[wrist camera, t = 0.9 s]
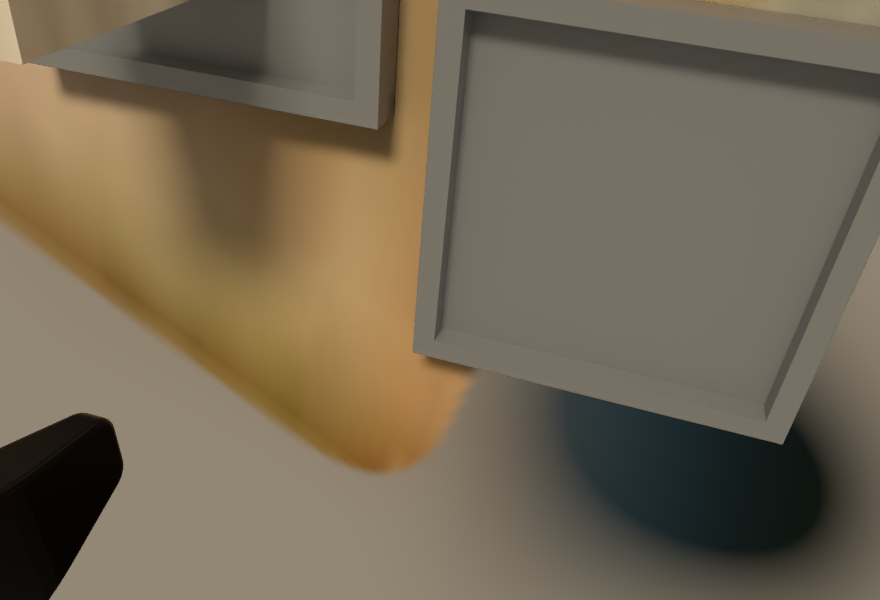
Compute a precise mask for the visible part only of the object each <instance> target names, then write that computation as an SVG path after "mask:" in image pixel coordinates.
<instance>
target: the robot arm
mask: <svg viewBox="0 0 880 600" xmlns="http://www.w3.org/2000/svg"><path fill="white" fill-rule="evenodd" d="M122 471H123V459H122V456H121V452H120V448H119V444H118V441H117V437H116V433H115V430H114V427H113V424H112V423H111V422H110V421H109V420H108V419H106V418H103V417H99V416H95V415H92V414H88V413H78V414H74V415H72V416H69V417H68V418H65V419H63V420H61V421H58V422H56V423H54V424H52V425H50V426H47V427H45V428H43V429H41V430H39V431H36V432H35V433H32V434H30V435H28V436H25V437H23V438H21V439H19V440H17V441H15V442H12V443H10V444H8V445H6V446H3V447H1V448H0V600H49V599H50V597H51V596H52V594H53V593H54V592H55V590H56V589H57V587H58V586H59V584H60V583H61V581H62V579H63V578H64V576H65V574H66V573H67V571H68V570H69V568H70V566H71V565H72V563H73V561H74V559H75V558H76V556H77V554H78V552H79V551H80V549H81V547H82V545H83V544H84V542H85V540H86V539H87V536H88V535H89V533H90V531H91V530H92V528H93V526H94V524H95V523H96V521H97V519H98V518H99V516H100V514H101V512H102V511H103V509H104V507H105V506H106V503H107V502H108V500H109V499H110V497H111V495H112V493H113V492H114V490H115V488H116V486H117V485H118V483H119V481H120V478H121V476H122Z"/></svg>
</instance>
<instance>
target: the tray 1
mask: <svg viewBox="0 0 880 600" xmlns="http://www.w3.org/2000/svg"><path fill="white" fill-rule="evenodd" d="M398 17H399V0H190V1H187V2H185V3H182V4H180V5H177V6H174V7H172V8H169V9H167V10H164V11H161V12H159V13H156V14H153V15H151V16H148V17H146V18H143V19H140V20H138V21H135V22H133V23H130V24H127V25H125V26H122V27H120V28H117V29H114V30H112V31H109V32H106V33H104V34H101V35H99V36H96V37H93V38H91V39H88V40H86V41H83V42H80V43H78V44H75V45H73V46H70V47H67V48H65V49H62V50H59V51H57V52H54V53H52V54H49V55H46V56H44V57H41V58H39V59H36V60H33V61H31V62H28V63H33V64H38V65H43V66H48V67H54V68H59V69H64V70H69V71H74V72H80V73H85V74H90V75H95V76H100V77H106V78H111V79H116V80H121V81H126V82H132V83H137V84H142V85H147V86H152V87H158V88H163V89H168V90H173V91H178V92H184V93H189V94H194V95H199V96H205V97H210V98H215V99H220V100H225V101H231V102H236V103H241V104H246V105H251V106H257V107H262V108H267V109H272V110H277V111H283V112H288V113H293V114H298V115H303V116H309V117H314V118H319V119H324V120H329V121H335V122H340V123H345V124H350V125H355V126H361V127H366V128H371V129H376V130H378V129H379V128H380V127H381V126H382V125H383V124H384V123H385V122H386V121H387V120H388V119H389V118H390V117H391V116H392V115H393V114H394V101H395V80H396V59H397V38H398Z"/></svg>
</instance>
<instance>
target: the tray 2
mask: <svg viewBox="0 0 880 600" xmlns="http://www.w3.org/2000/svg"><path fill="white" fill-rule="evenodd" d="M879 235H880V27H873V26H866V25H859V24H852V23H846V22H839V21H832V20H825V19H818V18H811V17H804V16H798V15H791V14H784V13H777V12H770V11H763V10H756V9H749V8H743V7H736V6H729V5H722V4H715V3H708V2H701V1H695V0H439V8H438V22H437V35H436V48H435V61H434V75H433V88H432V101H431V114H430V128H429V141H428V154H427V167H426V181H425V194H424V207H423V220H422V234H421V247H420V260H419V273H418V287H417V300H416V313H415V326H414V340H413V353H417V354H421V355H425V356H429V357H433V358H437V359H441V360H445V361H449V362H453V363H457V364H461V365H465V366H469V367H473V368H477V369H481V370H485V371H489V372H493V373H497V374H501V375H505V376H509V377H514V378H517V379H521V380H525V381H529V382H533V383H537V384H541V385H545V386H550V387H553V388H557V389H561V390H565V391H569V392H574V393H577V394H581V395H586V396H589V397H593V398H598V399H602V400H606V401H610V402H614V403H618V404H622V405H626V406H630V407H634V408H638V409H642V410H646V411H650V412H654V413H658V414H662V415H666V416H670V417H674V418H678V419H682V420H686V421H690V422H694V423H698V424H702V425H706V426H710V427H714V428H718V429H722V430H726V431H730V432H735V433H738V434H742V435H746V436H750V437H754V438H758V439H762V440H766V441H770V442H774V443H778V444H783V442H784V440H785V438H786V436H787V434H788V431H789V429H790V427H791V425H792V423H793V421H794V418H795V416H796V414H797V412H798V410H799V407H800V405H801V403H802V401H803V399H804V397H805V395H806V392H807V390H808V388H809V386H810V384H811V382H812V379H813V377H814V375H815V373H816V371H817V369H818V367H819V364H820V362H821V360H822V358H823V356H824V354H825V351H826V349H827V347H828V345H829V343H830V341H831V338H832V336H833V334H834V332H835V330H836V327H837V325H838V323H839V321H840V319H841V317H842V315H843V312H844V310H845V308H846V306H847V304H848V302H849V300H850V297H851V295H852V293H853V291H854V289H855V286H856V284H857V282H858V280H859V278H860V276H861V274H862V271H863V269H864V267H865V265H866V262H867V260H868V258H869V256H870V254H871V252H872V250H873V247H874V245H875V243H876V241H877V239H878V237H879Z"/></svg>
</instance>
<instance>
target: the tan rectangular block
mask: <svg viewBox="0 0 880 600" xmlns="http://www.w3.org/2000/svg"><path fill="white" fill-rule="evenodd" d="M187 1H190V0H0V60H1V61H7V62H12V63H17V64H22V65H23V64H26V63H28V62H31V61H33V60H36V59H39V58H41V57H44V56H46V55H49V54H52V53H54V52H57V51H59V50H62V49H65V48H67V47H70V46H73V45H75V44H78V43H80V42H83V41H86V40H88V39H91V38H93V37H96V36H99V35H101V34H104V33H106V32H109V31H112V30H114V29H117V28H120V27H122V26H125V25H127V24H130V23H133V22H135V21H138V20H140V19H143V18H146V17H148V16H151V15H153V14H156V13H159V12H161V11H164V10H167V9H169V8H172V7H174V6H177V5H180V4H182V3H185V2H187Z"/></svg>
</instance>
